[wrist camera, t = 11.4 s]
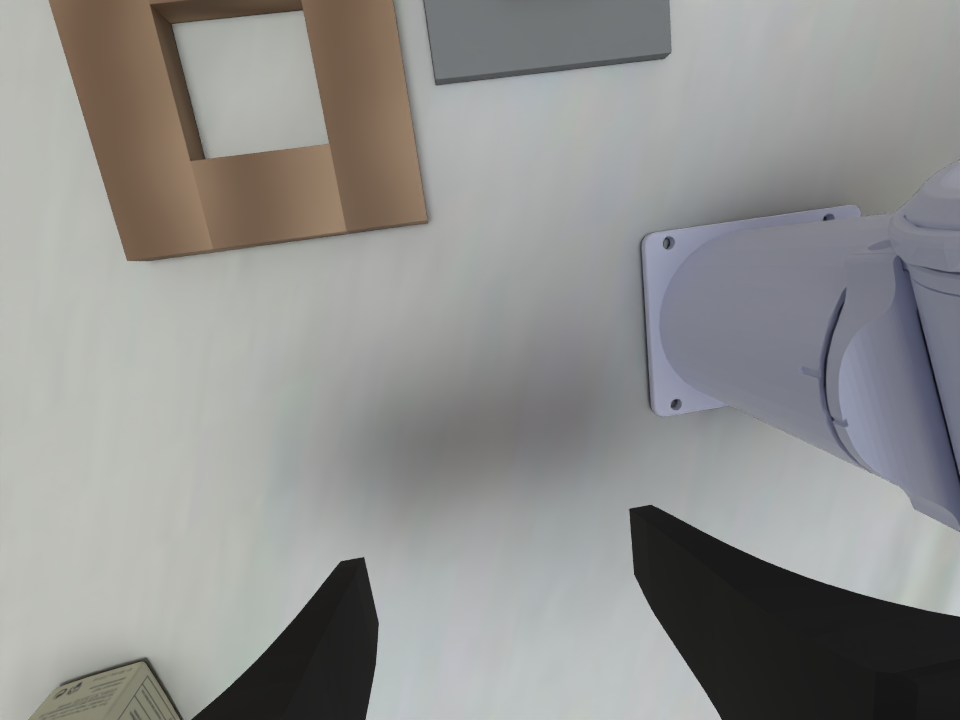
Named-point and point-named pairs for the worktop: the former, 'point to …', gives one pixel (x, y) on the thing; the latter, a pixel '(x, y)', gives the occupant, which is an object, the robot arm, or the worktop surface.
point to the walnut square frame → (250, 177)
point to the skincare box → (109, 698)
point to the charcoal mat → (542, 35)
